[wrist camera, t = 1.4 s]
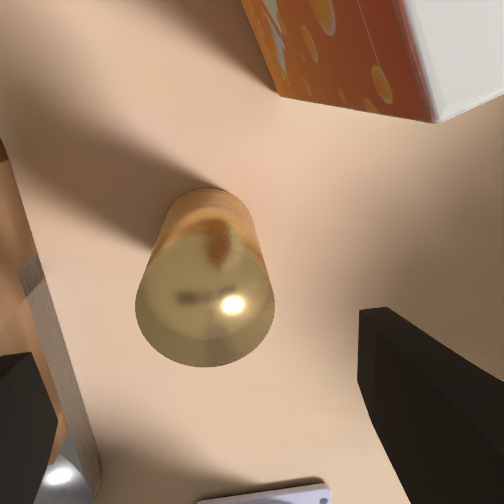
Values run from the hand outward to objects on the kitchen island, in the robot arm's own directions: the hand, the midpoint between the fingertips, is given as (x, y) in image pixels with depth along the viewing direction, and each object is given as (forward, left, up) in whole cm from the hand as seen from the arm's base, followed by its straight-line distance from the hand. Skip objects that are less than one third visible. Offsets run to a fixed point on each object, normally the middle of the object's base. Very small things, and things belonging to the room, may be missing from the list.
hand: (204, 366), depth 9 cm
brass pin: (0, 0, -10) cm, 10 cm away
